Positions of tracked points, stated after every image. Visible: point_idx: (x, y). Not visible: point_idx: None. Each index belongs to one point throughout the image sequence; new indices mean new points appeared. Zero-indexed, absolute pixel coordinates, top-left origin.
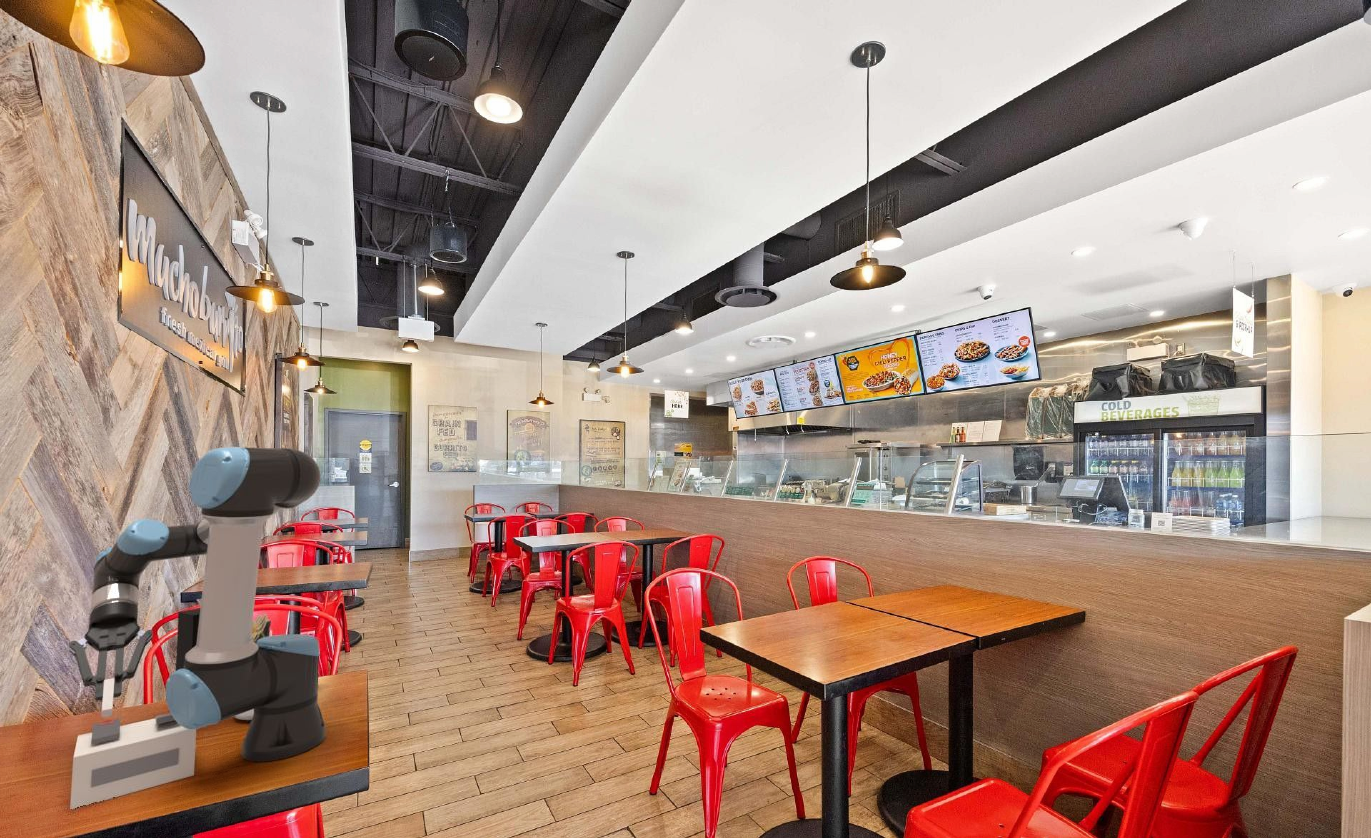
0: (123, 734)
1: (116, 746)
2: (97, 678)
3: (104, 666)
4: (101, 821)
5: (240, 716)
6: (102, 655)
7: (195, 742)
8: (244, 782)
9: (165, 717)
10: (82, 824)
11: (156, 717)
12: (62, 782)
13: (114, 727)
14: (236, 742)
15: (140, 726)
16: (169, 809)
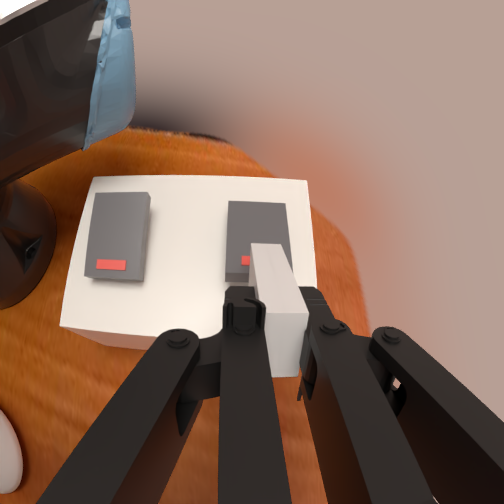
0: (217, 253)
1: (234, 180)
2: (344, 324)
3: (338, 382)
4: (245, 166)
5: (11, 429)
6: (392, 467)
7: None
8: (90, 157)
9: (129, 193)
10: (266, 174)
11: (144, 217)
12: None
13: (239, 230)
14: (39, 333)
15: (177, 289)
16: (174, 143)
